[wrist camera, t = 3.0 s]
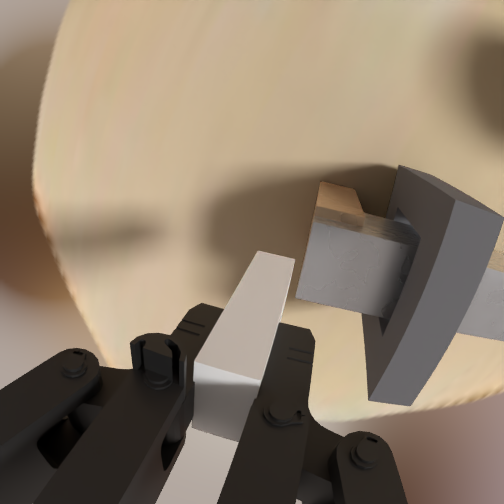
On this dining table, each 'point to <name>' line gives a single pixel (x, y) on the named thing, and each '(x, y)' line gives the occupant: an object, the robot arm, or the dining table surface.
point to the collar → (428, 284)
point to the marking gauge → (379, 264)
